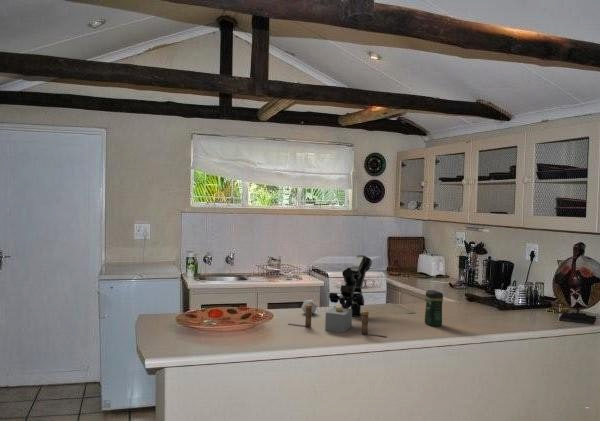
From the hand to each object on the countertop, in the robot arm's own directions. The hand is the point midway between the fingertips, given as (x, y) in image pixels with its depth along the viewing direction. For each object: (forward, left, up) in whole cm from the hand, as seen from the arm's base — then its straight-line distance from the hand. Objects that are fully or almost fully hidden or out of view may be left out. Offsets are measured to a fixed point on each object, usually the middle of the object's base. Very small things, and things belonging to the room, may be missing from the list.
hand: (343, 312), depth 266 cm
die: (-16, -25, -7) cm, 30 cm away
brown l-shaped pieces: (+12, 0, -7) cm, 14 cm away
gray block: (+7, 0, -7) cm, 10 cm away
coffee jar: (-25, +44, -7) cm, 51 cm away
